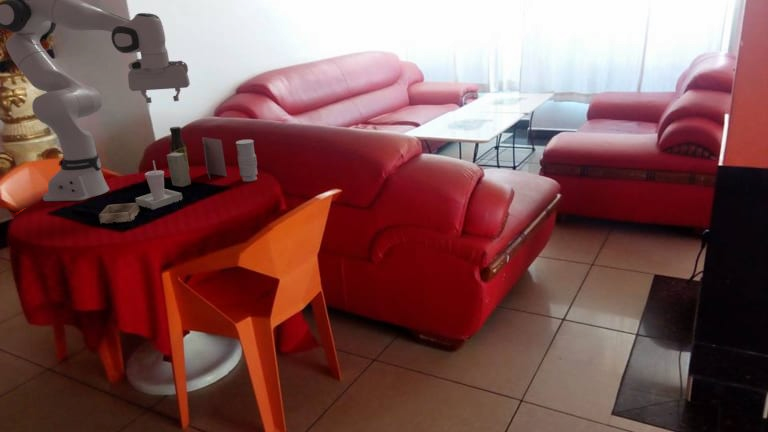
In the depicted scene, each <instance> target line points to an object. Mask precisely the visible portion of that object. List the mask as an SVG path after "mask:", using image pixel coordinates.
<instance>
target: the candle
mask: <svg viewBox="0 0 768 432" xmlns="http://www.w3.org/2000/svg"><path fill="white" fill-rule="evenodd" d="M254 142H255V141H254V140H253V139H241V140H237V141H235V144H236V148H237V149H236V150H237V162H238V167H239V175H240V176H241V177H242V179H241V181H242V180H243V181H242V182H253V181H256V180H257V179H258V177H257V175H258V173H259V172H258V168H257V166H258V162H257V154H255V146H254Z"/></svg>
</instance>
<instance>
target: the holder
mask: <svg viewBox="0 0 768 432" xmlns="http://www.w3.org/2000/svg"><path fill="white" fill-rule="evenodd" d="M139 206H140V205H138V203H136V202H131V203H130V202H129V203H118V204H116V203H115V204H107V206H105V207H104V209H102V211H101V212H100V213H99V214H98V219H99V223H100V225H102V223H105V224H113V222H116V223H123V222H125V223H126V222H127V221H128V222H133V221H134V220H135V218H136V217H137V215H138V214H139V213H138V212H140V207H139ZM135 216H136V217H135ZM132 220H133V221H132Z"/></svg>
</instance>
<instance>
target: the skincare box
mask: <svg viewBox="0 0 768 432" xmlns="http://www.w3.org/2000/svg"><path fill="white" fill-rule="evenodd" d="M166 159H167V164H168V169H169V175H170V179H171V183H172V186H176V187H183V188H184V187H186V186H189V185H192V181H191V177H190V169H189V170H188V165H189V164H188V165H187V159H186V154H184V153H172V154H171V153H169V154H166Z"/></svg>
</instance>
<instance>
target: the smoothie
mask: <svg viewBox="0 0 768 432" xmlns="http://www.w3.org/2000/svg"><path fill="white" fill-rule="evenodd" d="M155 162H156V161H155V160H152V164H153V170H150V171H148V172H146V173H144V177H145V178H146V180H147V184H148V187H149V190H150V194H151V193H152V196H153V199H154V200H155V201H157V200H160V199H164V198H165V194H164V189H165V179H164V178H165V177H164V175H165V171H164V170H161V169H160V170H157V168H156V163H155Z"/></svg>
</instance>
